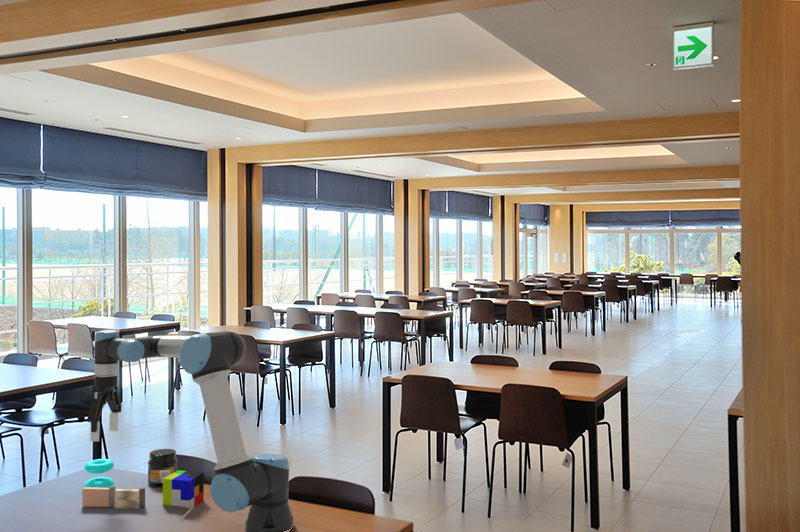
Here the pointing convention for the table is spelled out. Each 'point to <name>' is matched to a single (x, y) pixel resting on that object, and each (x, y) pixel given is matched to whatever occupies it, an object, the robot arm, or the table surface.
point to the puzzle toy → (183, 489)
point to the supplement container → (161, 466)
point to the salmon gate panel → (98, 497)
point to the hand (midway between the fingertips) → (104, 435)
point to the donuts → (99, 467)
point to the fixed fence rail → (130, 498)
